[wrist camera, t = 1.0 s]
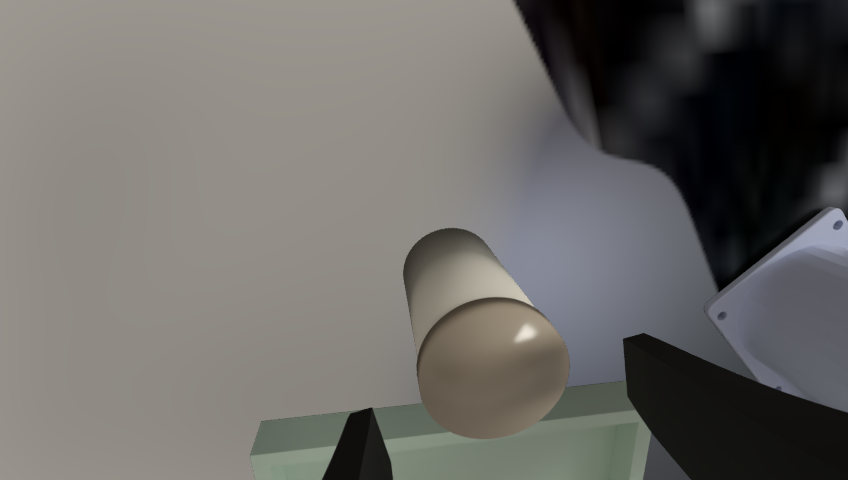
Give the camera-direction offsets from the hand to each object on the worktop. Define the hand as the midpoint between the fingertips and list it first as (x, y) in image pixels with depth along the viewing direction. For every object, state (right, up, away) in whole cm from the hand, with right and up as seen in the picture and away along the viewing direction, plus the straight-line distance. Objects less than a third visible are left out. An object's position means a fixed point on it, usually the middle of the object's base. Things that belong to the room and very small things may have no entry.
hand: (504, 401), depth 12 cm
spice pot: (-1, +3, +8) cm, 9 cm away
